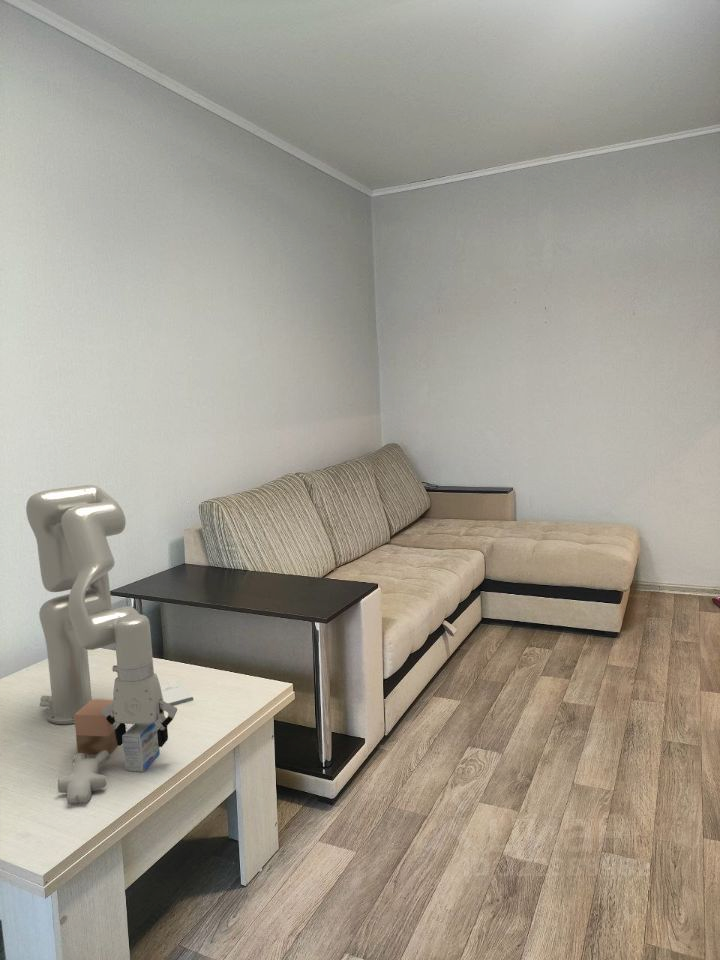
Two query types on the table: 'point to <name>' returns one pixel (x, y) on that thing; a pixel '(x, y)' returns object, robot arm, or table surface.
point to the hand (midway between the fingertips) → (142, 743)
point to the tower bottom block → (96, 744)
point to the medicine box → (140, 746)
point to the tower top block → (93, 719)
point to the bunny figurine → (84, 778)
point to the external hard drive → (175, 693)
